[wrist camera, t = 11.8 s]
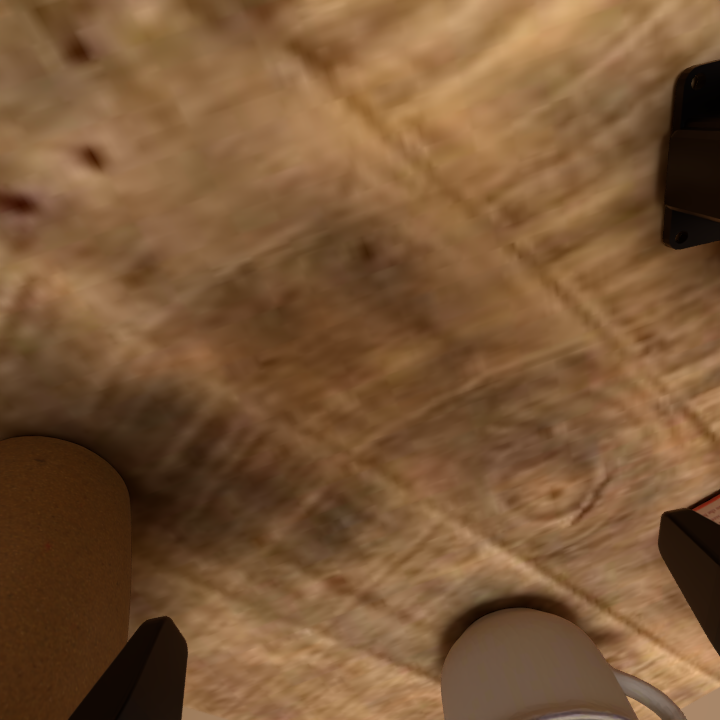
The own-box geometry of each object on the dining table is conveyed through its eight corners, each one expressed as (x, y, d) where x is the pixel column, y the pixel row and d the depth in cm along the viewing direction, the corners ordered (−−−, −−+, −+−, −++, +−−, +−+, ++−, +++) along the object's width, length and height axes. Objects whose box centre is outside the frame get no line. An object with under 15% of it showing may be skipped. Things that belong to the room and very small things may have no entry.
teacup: (410, 676, 33) (433, 829, 26) (455, 575, 28) (498, 727, 21) (586, 684, 35) (652, 827, 28) (655, 591, 30) (756, 735, 23)
